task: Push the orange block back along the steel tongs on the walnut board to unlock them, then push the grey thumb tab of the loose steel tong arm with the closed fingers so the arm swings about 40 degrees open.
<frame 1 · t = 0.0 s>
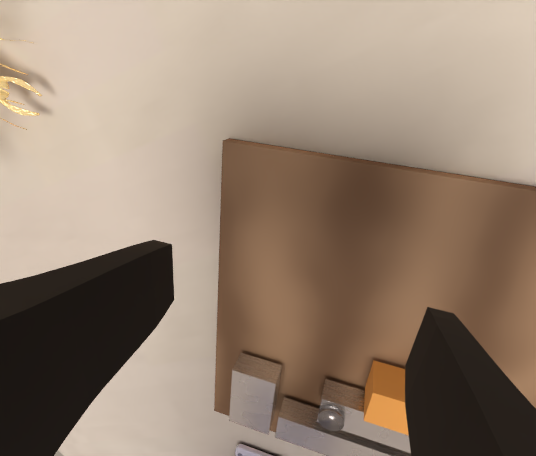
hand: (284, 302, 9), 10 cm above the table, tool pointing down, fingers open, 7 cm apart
orange block: (394, 397, 20), point 2 cm above the table, slide at 0.0 cm
walnut board: (308, 387, 25), on the table
tongs frame: (410, 450, 21), on the walnut board, point 2 cm above the table
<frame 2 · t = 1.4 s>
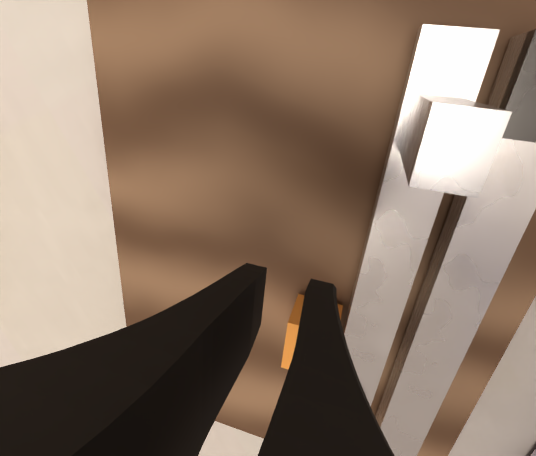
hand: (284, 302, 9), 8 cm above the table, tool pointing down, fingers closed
orange block: (312, 336, 17), point 2 cm above the table, slide at 0.0 cm
tong arm: (388, 289, 13), point 4 cm above the table, hinge at 0.0°
walnut board: (371, 390, 21), on the table
tongs frame: (405, 326, 16), on the walnut board, point 2 cm above the table
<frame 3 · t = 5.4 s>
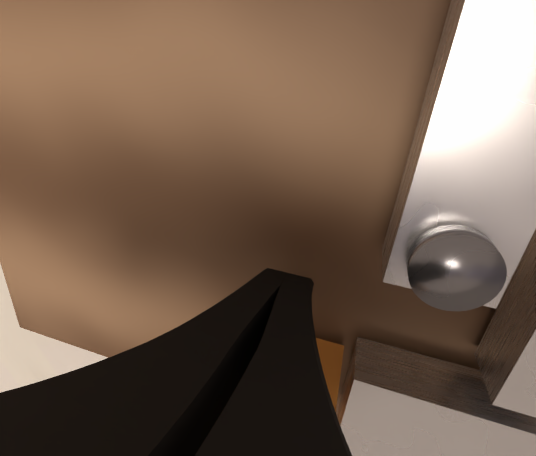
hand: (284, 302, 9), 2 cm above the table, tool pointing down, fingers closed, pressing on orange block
orange block: (290, 399, 10), point 2 cm above the table, slide at 9.0 cm, touching gripper
walnut board: (468, 281, 9), on the table
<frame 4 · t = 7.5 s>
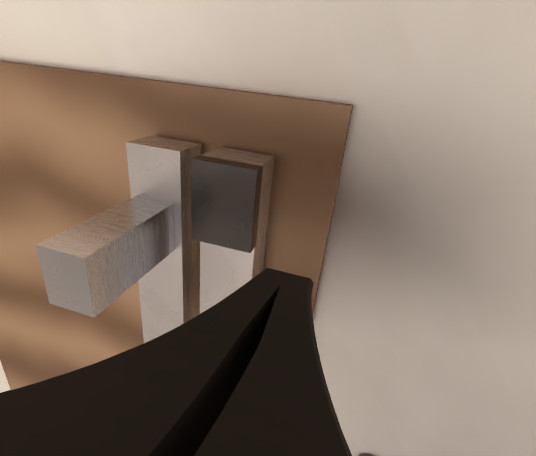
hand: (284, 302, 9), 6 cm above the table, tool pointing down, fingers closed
tong arm: (145, 359, 15), point 4 cm above the table, hinge at 0.0°
walnut board: (212, 429, 22), on the table
tongs frame: (197, 383, 17), on the walnut board, point 2 cm above the table
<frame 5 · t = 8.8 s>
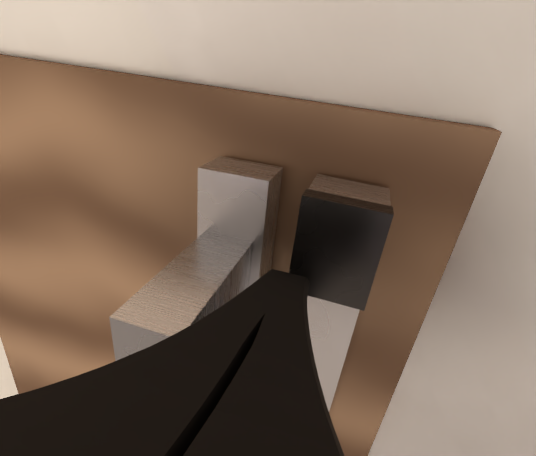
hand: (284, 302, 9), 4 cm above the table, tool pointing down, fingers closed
tong arm: (205, 419, 12), point 4 cm above the table, hinge at 1.0°, touching gripper
tongs frame: (257, 436, 15), on the walnut board, point 2 cm above the table
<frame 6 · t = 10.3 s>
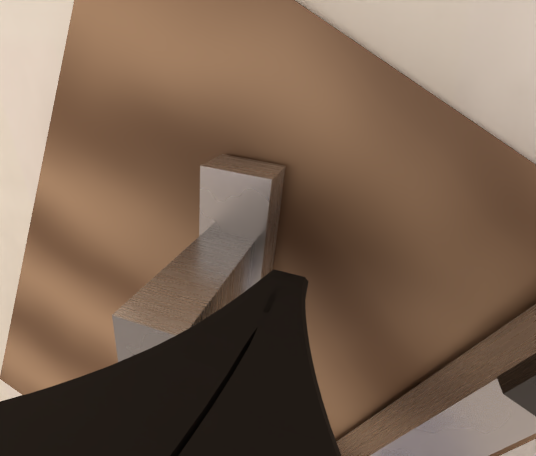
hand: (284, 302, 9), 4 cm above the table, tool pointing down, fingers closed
tong arm: (206, 417, 12), point 4 cm above the table, hinge at 24.7°, touching gripper
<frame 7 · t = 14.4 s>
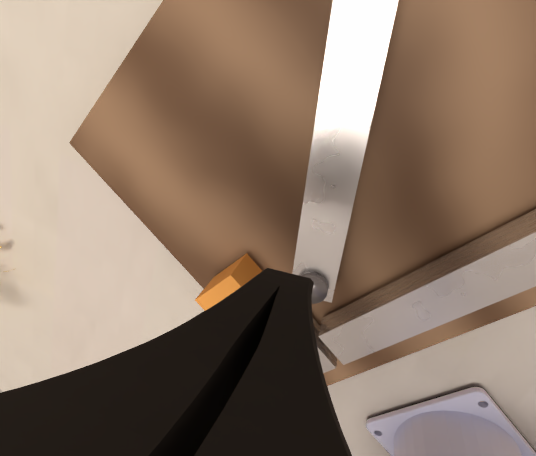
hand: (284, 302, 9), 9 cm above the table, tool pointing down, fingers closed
orange block: (235, 291, 19), point 2 cm above the table, slide at 9.0 cm
tong arm: (340, 118, 12), point 4 cm above the table, hinge at 42.0°
walnut board: (341, 290, 20), on the table
tongs frame: (468, 248, 14), on the walnut board, point 2 cm above the table
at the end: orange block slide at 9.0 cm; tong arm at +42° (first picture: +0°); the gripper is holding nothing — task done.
